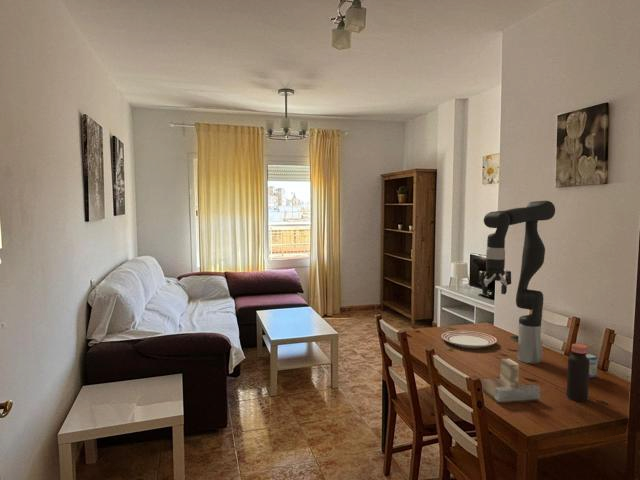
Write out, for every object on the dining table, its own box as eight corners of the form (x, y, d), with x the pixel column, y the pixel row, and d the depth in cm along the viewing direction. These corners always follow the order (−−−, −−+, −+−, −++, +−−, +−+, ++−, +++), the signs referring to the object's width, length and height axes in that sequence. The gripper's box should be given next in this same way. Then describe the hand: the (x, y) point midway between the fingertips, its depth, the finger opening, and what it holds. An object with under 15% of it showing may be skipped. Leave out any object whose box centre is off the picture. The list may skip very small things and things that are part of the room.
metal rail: (534, 395, 152) (534, 384, 152) (539, 398, 149) (540, 388, 149) (494, 398, 150) (494, 387, 150) (499, 401, 147) (499, 391, 147)
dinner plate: (430, 338, 224) (430, 332, 224) (469, 332, 235) (469, 327, 234) (467, 355, 199) (467, 348, 198) (508, 347, 210) (508, 341, 209)
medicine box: (582, 379, 170) (583, 358, 169) (573, 375, 174) (573, 355, 173) (596, 377, 172) (598, 356, 171) (587, 373, 176) (588, 353, 176)
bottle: (578, 393, 156) (580, 342, 155) (592, 401, 150) (595, 348, 148) (562, 394, 155) (564, 343, 154) (575, 402, 149) (578, 349, 147)
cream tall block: (508, 388, 158) (509, 358, 157) (517, 395, 152) (519, 364, 151) (499, 389, 157) (500, 359, 156) (509, 396, 151) (510, 364, 150)
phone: (525, 345, 210) (509, 336, 225) (525, 347, 210) (509, 338, 225) (540, 344, 211) (522, 335, 226) (539, 347, 211) (522, 337, 226)
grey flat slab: (508, 380, 168) (508, 377, 168) (537, 400, 150) (537, 397, 150) (472, 382, 166) (472, 380, 166) (497, 403, 148) (497, 400, 148)
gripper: (505, 256, 183) (504, 292, 184) (475, 257, 181) (474, 293, 182) (515, 258, 176) (514, 295, 177) (484, 259, 174) (483, 296, 175)
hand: (494, 294), depth 180 cm, fingers open, 8 cm apart
